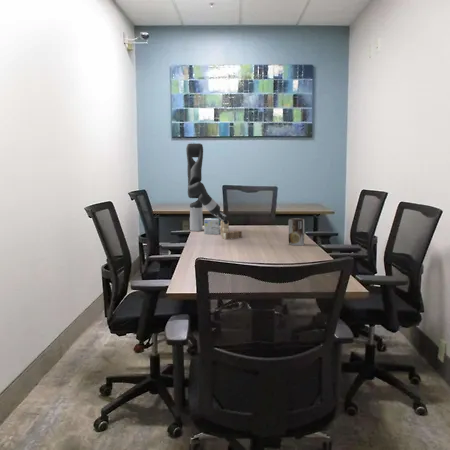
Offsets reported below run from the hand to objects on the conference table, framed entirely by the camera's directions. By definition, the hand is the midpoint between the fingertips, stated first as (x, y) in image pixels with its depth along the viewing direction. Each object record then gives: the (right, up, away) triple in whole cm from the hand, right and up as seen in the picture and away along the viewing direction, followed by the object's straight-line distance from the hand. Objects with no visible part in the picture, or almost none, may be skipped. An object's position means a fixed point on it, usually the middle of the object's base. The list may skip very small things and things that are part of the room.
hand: (226, 223), depth 303 cm
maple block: (-2, -8, +15) cm, 17 cm away
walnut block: (-2, -9, -1) cm, 9 cm away
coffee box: (+43, -14, -21) cm, 50 cm away
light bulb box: (-11, -8, +22) cm, 26 cm away
